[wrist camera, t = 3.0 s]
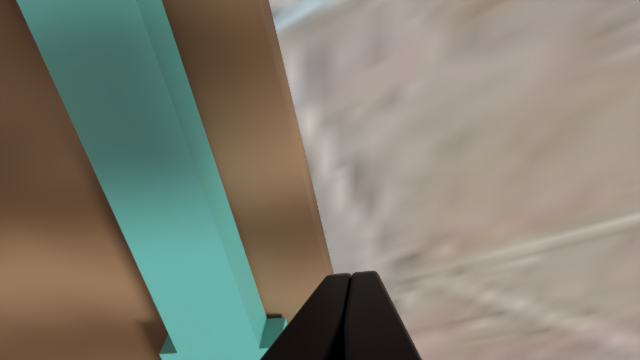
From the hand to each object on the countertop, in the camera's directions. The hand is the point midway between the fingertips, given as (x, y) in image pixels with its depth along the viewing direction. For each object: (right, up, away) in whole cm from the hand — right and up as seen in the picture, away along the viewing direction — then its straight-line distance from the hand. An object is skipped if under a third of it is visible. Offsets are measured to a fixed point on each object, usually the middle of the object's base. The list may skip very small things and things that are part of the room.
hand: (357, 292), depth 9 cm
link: (-5, +2, +8) cm, 10 cm away
